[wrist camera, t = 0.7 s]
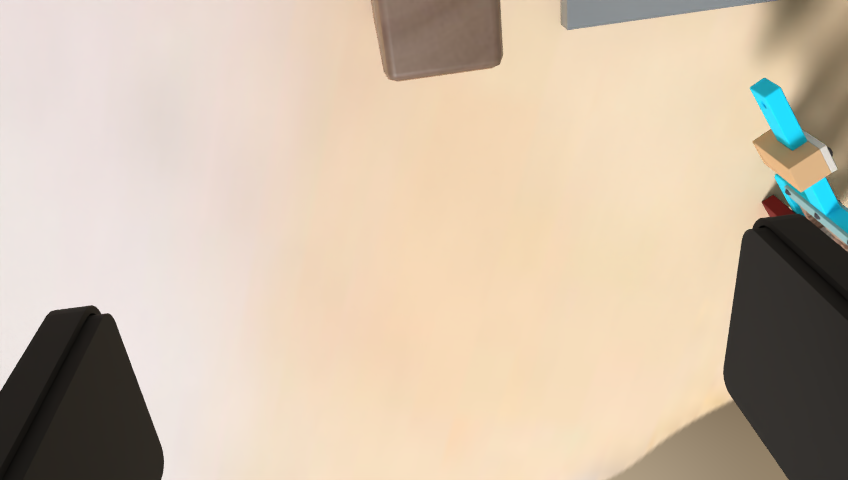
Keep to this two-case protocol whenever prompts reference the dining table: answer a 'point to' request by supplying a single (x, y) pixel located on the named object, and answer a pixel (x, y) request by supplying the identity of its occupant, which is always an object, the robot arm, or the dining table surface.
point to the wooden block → (437, 36)
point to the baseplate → (634, 10)
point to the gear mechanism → (798, 166)
